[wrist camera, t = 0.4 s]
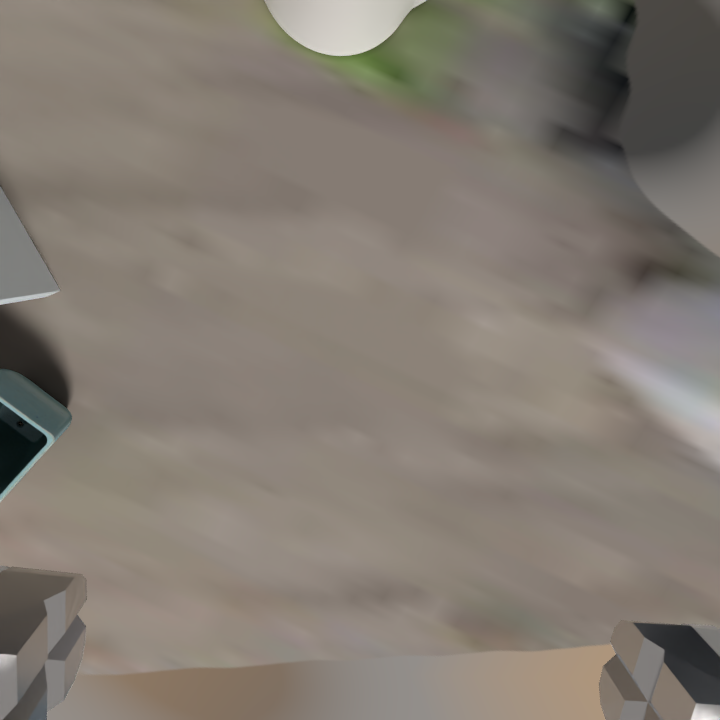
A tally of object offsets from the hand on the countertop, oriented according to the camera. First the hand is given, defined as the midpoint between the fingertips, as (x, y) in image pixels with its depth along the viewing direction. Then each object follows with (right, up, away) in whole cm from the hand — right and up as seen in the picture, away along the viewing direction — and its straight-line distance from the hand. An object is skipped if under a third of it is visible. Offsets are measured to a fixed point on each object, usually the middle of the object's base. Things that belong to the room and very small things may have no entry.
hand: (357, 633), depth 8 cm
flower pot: (-33, -1, +45) cm, 56 cm away
